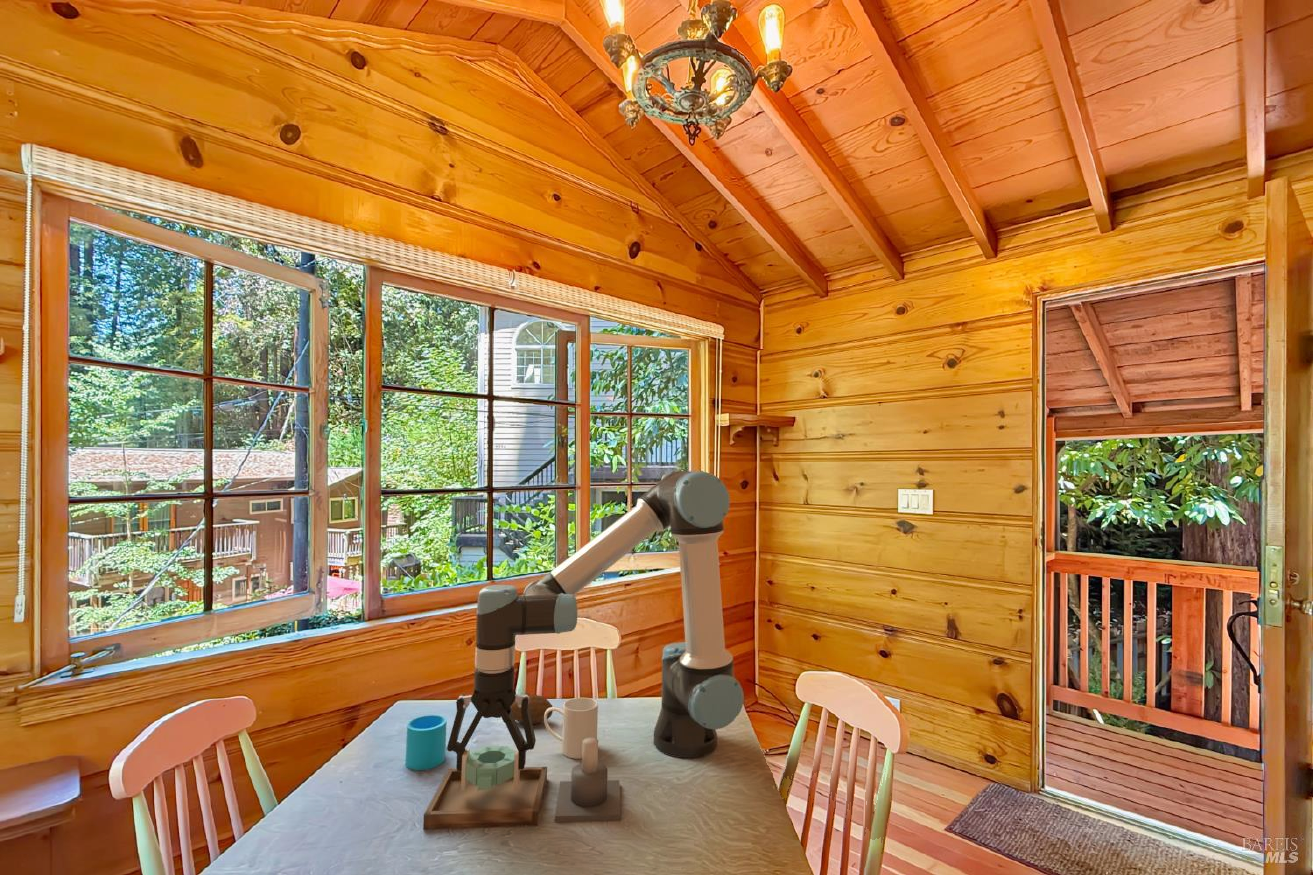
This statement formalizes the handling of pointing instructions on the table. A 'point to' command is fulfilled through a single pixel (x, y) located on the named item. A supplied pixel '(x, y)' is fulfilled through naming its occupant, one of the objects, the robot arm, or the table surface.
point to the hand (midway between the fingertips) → (490, 786)
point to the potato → (533, 709)
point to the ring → (490, 766)
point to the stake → (588, 790)
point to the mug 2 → (576, 724)
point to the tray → (487, 802)
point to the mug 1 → (426, 742)
